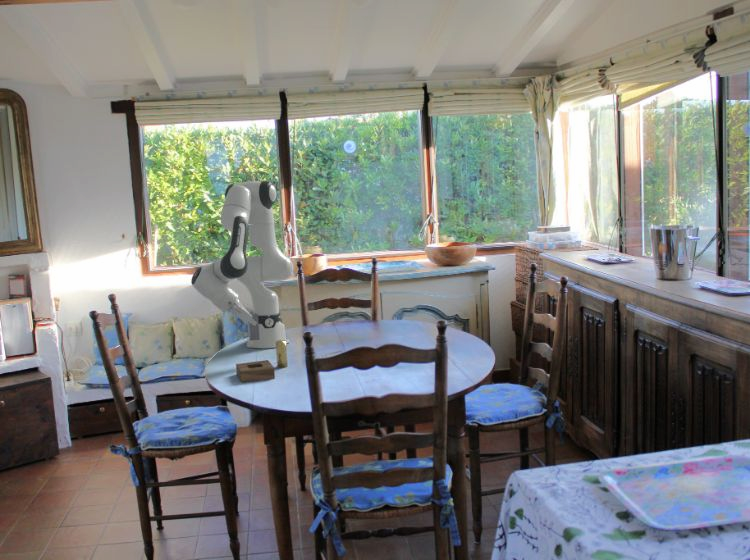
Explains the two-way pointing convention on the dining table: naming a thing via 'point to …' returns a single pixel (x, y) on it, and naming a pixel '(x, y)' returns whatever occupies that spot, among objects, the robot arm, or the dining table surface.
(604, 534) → the dining table surface
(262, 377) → the bore block
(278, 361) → the round bit
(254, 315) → the square bit
